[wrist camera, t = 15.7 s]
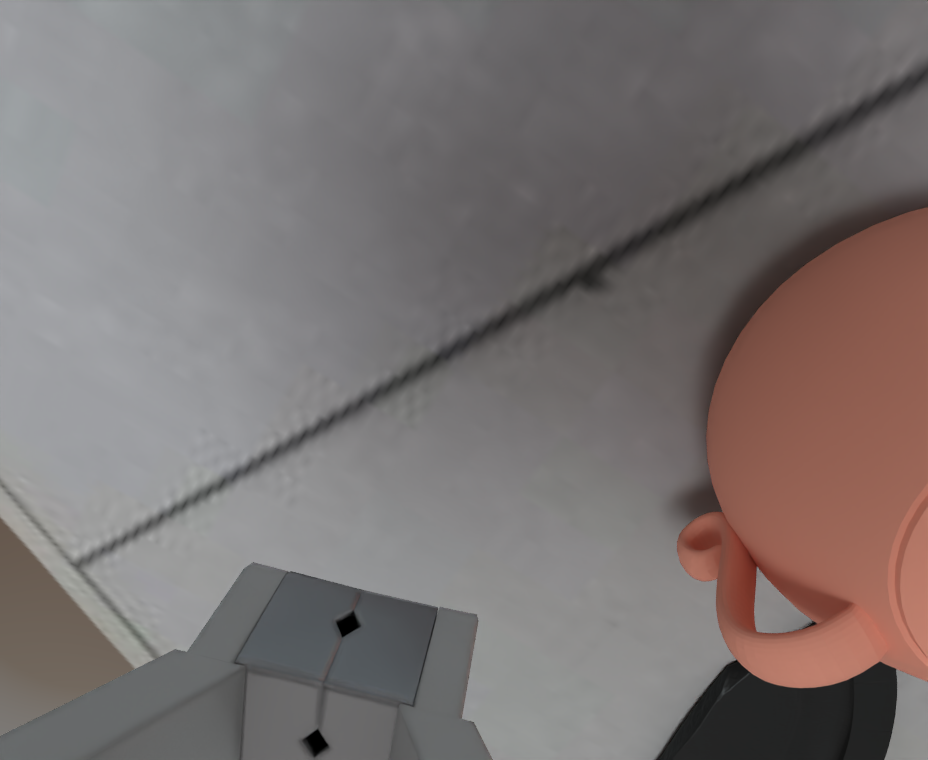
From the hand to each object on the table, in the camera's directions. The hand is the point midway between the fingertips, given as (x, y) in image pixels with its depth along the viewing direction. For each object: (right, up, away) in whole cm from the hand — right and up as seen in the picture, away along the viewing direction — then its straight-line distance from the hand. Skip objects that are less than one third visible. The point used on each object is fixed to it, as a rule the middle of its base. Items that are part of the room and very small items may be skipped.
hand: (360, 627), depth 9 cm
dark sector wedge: (+16, -13, +24) cm, 32 cm away
